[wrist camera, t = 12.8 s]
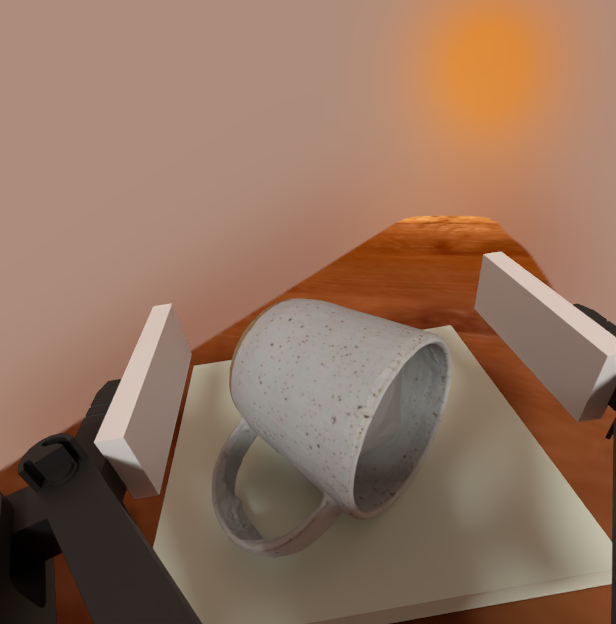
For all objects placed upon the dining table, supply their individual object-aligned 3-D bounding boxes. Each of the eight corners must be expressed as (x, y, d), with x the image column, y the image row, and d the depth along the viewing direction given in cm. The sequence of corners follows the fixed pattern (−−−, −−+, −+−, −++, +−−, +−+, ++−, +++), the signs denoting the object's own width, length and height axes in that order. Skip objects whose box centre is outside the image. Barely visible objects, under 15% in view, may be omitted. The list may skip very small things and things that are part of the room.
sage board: (144, 667, 14) (129, 655, 13) (200, 381, 26) (194, 365, 25) (614, 583, 14) (629, 566, 13) (448, 341, 27) (450, 325, 26)
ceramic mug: (325, 365, 24) (310, 258, 19) (448, 429, 19) (465, 304, 14) (184, 492, 18) (117, 379, 13) (310, 634, 13) (269, 528, 8)
